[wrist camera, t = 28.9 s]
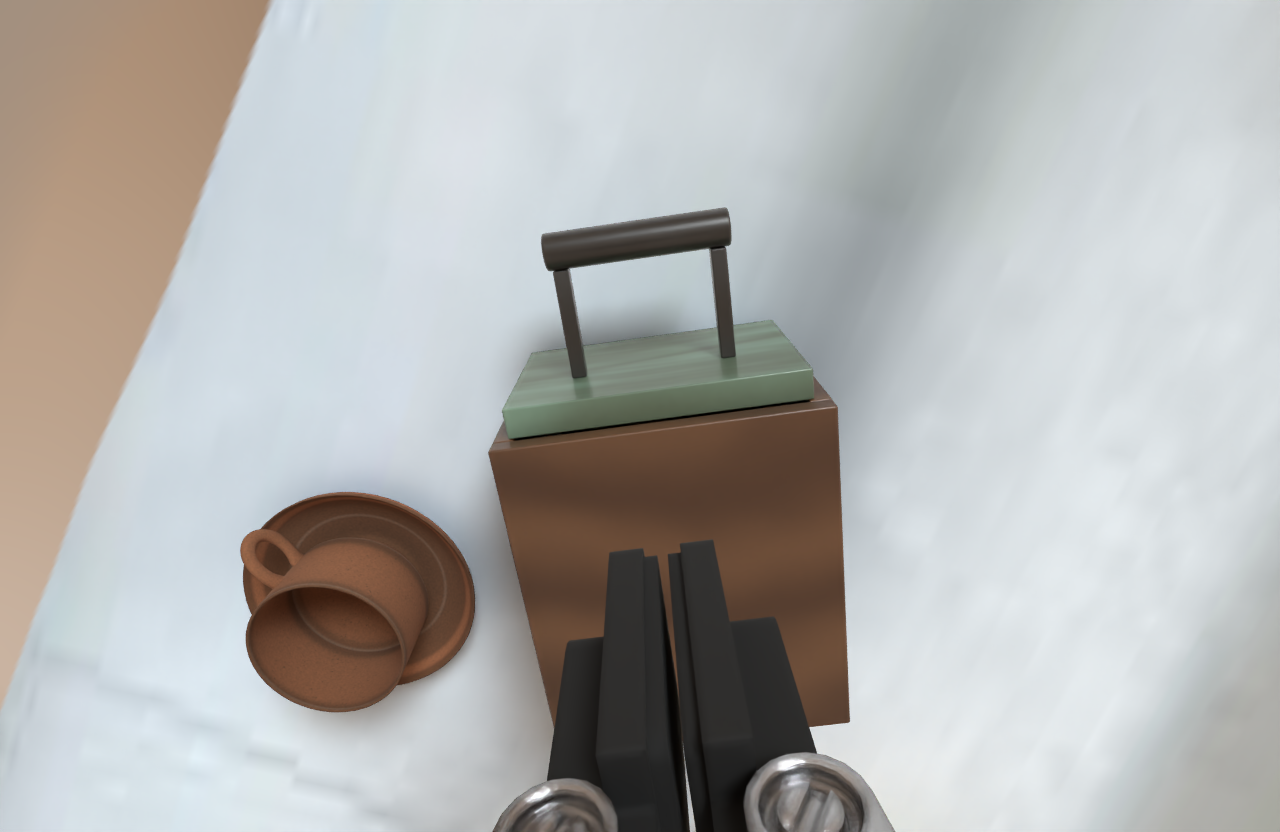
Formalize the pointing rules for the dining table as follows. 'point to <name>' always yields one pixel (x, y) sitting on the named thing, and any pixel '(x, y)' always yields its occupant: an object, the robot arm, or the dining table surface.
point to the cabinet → (688, 528)
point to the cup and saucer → (352, 599)
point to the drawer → (651, 344)
